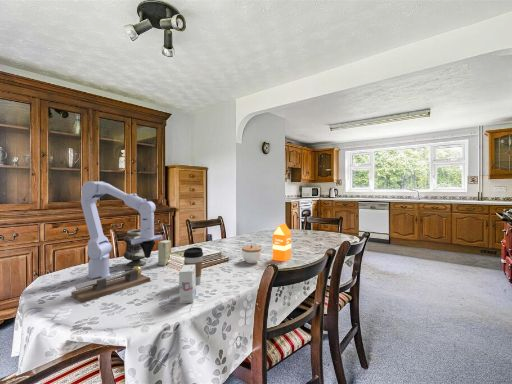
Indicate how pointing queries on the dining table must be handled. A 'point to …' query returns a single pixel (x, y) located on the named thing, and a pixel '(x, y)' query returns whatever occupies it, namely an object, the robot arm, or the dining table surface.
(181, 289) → the ink box
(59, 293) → the dining table surface
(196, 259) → the coffee cup
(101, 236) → the robot arm
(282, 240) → the orange juice
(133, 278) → the shaft frame
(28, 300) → the dining table surface
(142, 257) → the apothecary jar
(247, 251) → the lidded jar
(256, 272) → the dining table surface
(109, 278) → the shaft
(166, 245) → the skincare box
